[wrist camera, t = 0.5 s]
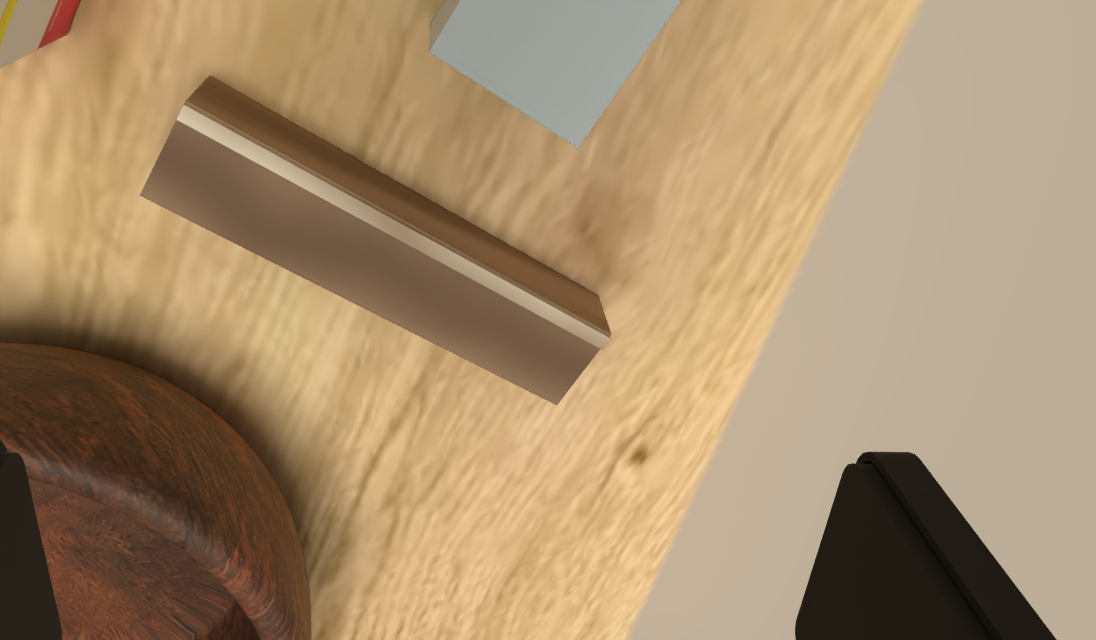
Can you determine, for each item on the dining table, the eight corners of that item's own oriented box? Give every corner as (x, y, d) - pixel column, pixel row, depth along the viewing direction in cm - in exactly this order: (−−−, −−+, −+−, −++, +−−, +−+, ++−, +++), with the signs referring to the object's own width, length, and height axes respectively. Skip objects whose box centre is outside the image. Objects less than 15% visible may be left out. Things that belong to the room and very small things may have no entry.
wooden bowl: (210, 218, 36) (134, 346, 27) (400, 632, 48) (391, 815, 39) (-374, 372, 37) (-638, 547, 28) (-40, 743, 49) (-148, 948, 40)
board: (209, 75, 33) (184, 102, 30) (598, 295, 40) (612, 336, 36) (166, 163, 35) (138, 197, 32) (548, 362, 41) (557, 407, 38)
